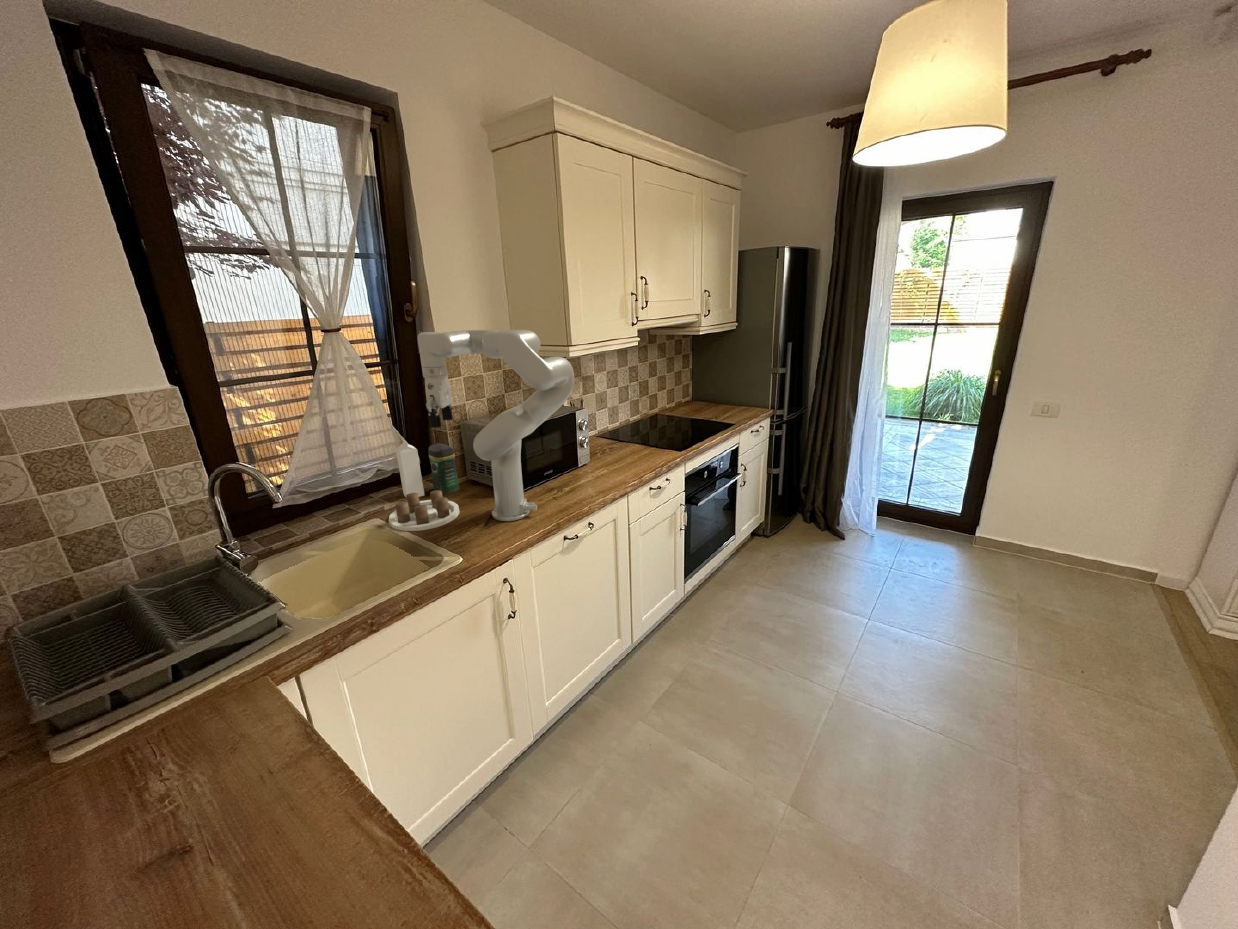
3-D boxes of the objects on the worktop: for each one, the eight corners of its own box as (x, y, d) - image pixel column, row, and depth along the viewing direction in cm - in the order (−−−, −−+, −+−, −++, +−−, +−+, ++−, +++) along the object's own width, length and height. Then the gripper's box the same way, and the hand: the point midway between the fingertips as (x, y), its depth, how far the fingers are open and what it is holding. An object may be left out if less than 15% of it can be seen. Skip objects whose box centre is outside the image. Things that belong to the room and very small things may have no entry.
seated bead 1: (422, 508, 168) (420, 492, 166) (417, 513, 164) (415, 497, 162) (411, 508, 168) (409, 492, 166) (406, 513, 164) (404, 497, 162)
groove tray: (468, 505, 172) (468, 499, 171) (445, 533, 151) (444, 527, 151) (408, 505, 173) (407, 499, 173) (376, 533, 153) (375, 527, 152)
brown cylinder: (445, 506, 169) (443, 490, 168) (441, 510, 166) (439, 494, 164) (435, 505, 170) (432, 490, 168) (430, 510, 166) (428, 494, 164)
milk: (408, 502, 176) (397, 444, 169) (403, 497, 181) (393, 440, 173) (425, 497, 179) (415, 440, 172) (420, 492, 184) (411, 437, 177)
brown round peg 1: (412, 518, 160) (409, 501, 158) (407, 523, 157) (404, 506, 155) (401, 518, 161) (398, 501, 159) (396, 523, 157) (393, 506, 155)
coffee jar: (463, 491, 185) (456, 444, 179) (444, 497, 179) (436, 449, 173) (449, 485, 191) (443, 440, 185) (431, 491, 185) (423, 444, 179)
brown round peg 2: (431, 521, 158) (428, 504, 156) (426, 526, 154) (423, 509, 152) (419, 521, 158) (417, 504, 156) (414, 526, 154) (411, 509, 152)
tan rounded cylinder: (451, 513, 163) (449, 497, 161) (447, 518, 160) (444, 501, 158) (440, 513, 164) (438, 497, 162) (436, 518, 160) (433, 501, 158)
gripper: (435, 375, 148) (443, 430, 153) (456, 367, 164) (462, 417, 170) (411, 376, 148) (420, 430, 154) (434, 368, 164) (441, 417, 170)
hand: (442, 423), depth 162 cm, fingers open, 9 cm apart
